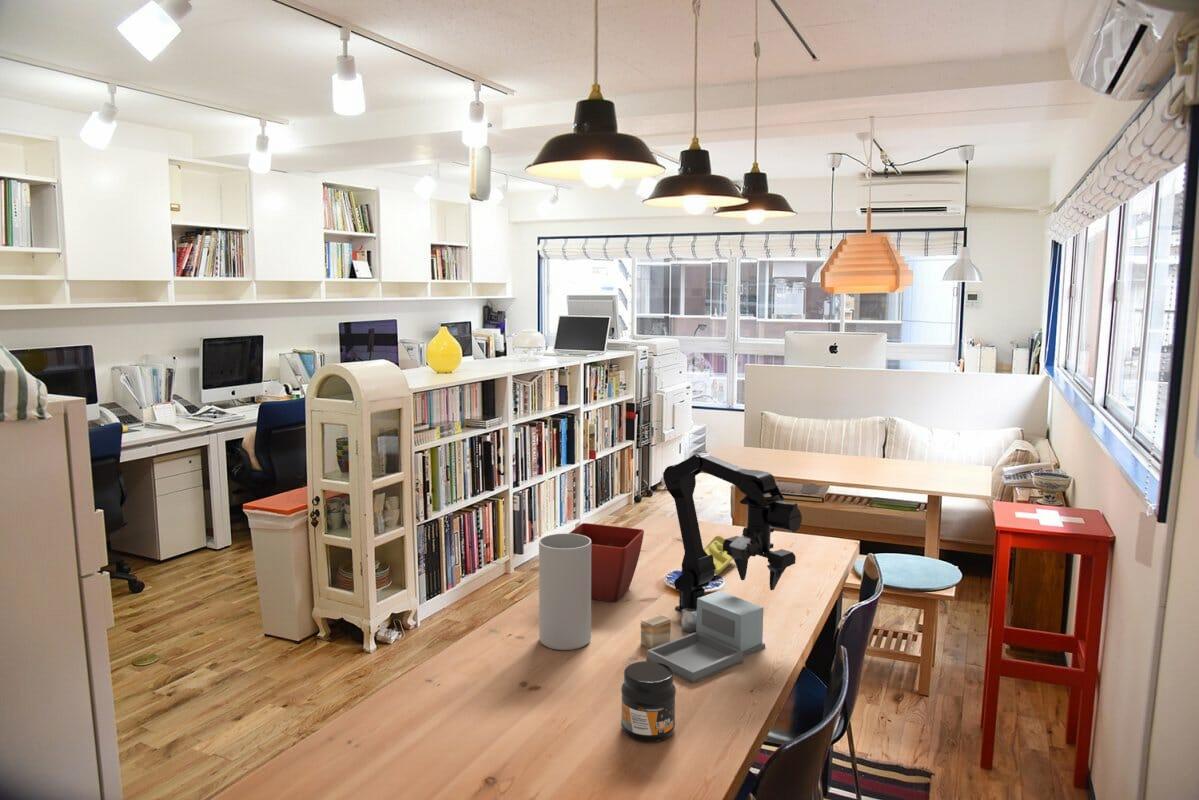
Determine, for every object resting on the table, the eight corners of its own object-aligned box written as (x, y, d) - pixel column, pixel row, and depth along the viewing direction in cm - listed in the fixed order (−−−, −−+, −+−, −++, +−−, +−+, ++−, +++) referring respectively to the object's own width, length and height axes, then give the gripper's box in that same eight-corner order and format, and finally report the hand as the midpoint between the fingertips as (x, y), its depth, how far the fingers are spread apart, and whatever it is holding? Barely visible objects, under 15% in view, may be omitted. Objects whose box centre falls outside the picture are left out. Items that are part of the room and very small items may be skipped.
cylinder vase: (599, 635, 206) (599, 537, 203) (576, 655, 195) (576, 551, 192) (554, 626, 212) (554, 530, 208) (529, 645, 200) (529, 544, 197)
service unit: (693, 637, 206) (694, 598, 204) (718, 627, 211) (718, 589, 210) (740, 657, 194) (741, 616, 193) (765, 647, 200) (766, 607, 199)
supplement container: (635, 749, 156) (636, 688, 154) (612, 722, 165) (612, 664, 164) (685, 737, 160) (686, 678, 158) (659, 712, 169) (660, 655, 168)
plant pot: (644, 585, 242) (645, 528, 239) (624, 609, 224) (625, 548, 221) (582, 577, 248) (582, 522, 245) (558, 600, 230) (558, 540, 228)
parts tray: (646, 660, 193) (646, 650, 192) (696, 641, 203) (696, 631, 203) (692, 683, 182) (693, 672, 181) (743, 662, 192) (743, 651, 192)
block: (640, 643, 202) (640, 620, 201) (658, 637, 206) (659, 613, 205) (652, 649, 199) (652, 625, 198) (670, 642, 203) (670, 619, 202)
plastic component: (717, 572, 246) (688, 553, 250) (707, 591, 249) (679, 572, 253) (741, 549, 263) (715, 531, 267) (732, 567, 266) (705, 549, 270)
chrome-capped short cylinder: (677, 629, 210) (677, 610, 210) (689, 625, 213) (690, 606, 212) (690, 635, 207) (690, 616, 206) (702, 630, 210) (702, 611, 209)
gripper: (708, 521, 207) (707, 582, 209) (768, 538, 193) (766, 603, 195) (738, 513, 215) (736, 572, 217) (797, 529, 200) (795, 592, 202)
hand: (757, 584), depth 208 cm, fingers open, 9 cm apart
